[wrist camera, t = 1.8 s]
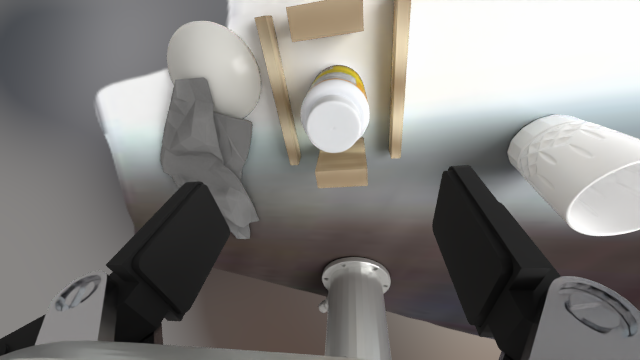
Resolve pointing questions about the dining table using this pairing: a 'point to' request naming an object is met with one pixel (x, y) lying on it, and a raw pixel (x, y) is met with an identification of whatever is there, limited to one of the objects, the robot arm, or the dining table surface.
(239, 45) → the coaster
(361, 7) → the wooden slatted rack
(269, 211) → the dining table surface
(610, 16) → the dining table surface
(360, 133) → the supplement bottle
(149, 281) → the robot arm
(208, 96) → the cloth
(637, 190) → the white cup
